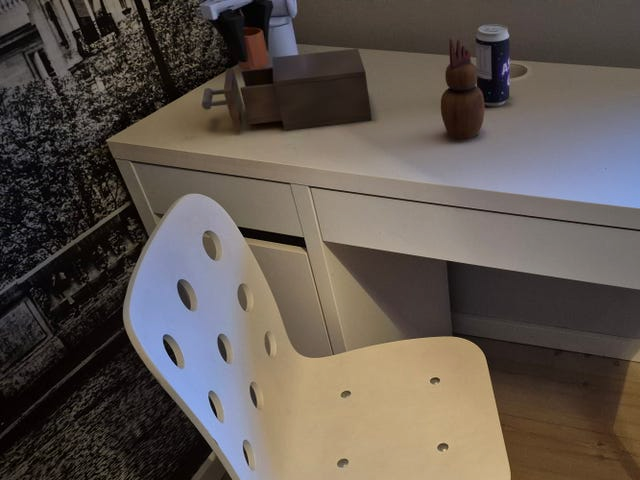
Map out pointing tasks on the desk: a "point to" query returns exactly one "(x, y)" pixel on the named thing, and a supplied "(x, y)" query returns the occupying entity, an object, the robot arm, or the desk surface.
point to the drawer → (247, 97)
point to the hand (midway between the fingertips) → (252, 55)
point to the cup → (255, 49)
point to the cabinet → (321, 89)
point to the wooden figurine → (462, 96)
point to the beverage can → (493, 63)
